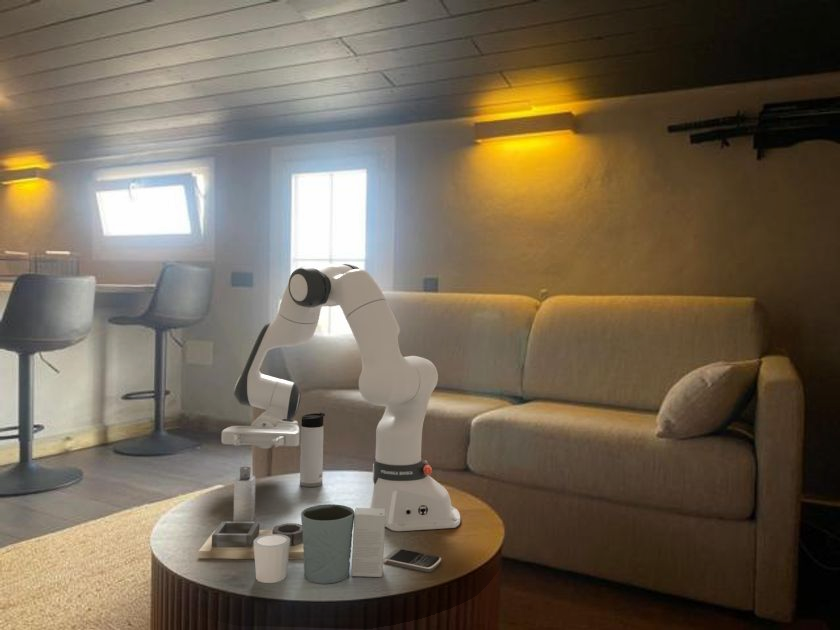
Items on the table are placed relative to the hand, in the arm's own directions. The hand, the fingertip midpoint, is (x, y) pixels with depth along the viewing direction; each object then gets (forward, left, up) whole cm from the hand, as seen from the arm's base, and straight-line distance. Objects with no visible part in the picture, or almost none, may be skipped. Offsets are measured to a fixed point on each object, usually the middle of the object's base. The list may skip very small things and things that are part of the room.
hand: (255, 443), depth 163 cm
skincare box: (-30, +41, -16) cm, 53 cm away
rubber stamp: (0, +12, -16) cm, 20 cm away
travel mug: (-12, -18, -16) cm, 27 cm away
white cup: (-12, +42, -16) cm, 47 cm away
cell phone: (-39, +35, -16) cm, 55 cm away
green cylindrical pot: (-23, +41, -16) cm, 49 cm away
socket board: (-7, +28, -15) cm, 33 cm away
